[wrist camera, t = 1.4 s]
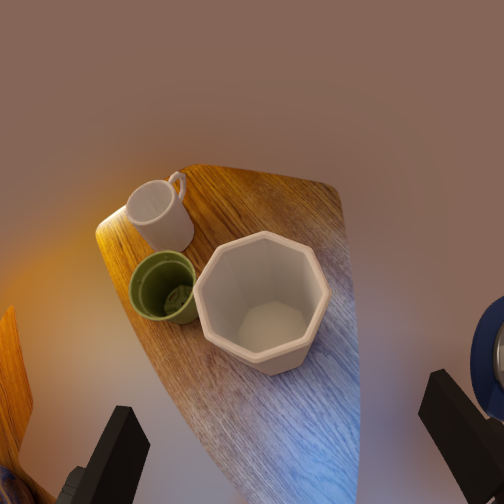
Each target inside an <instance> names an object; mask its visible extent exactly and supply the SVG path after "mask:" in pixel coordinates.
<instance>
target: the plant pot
mask: <svg viewBox="0 0 504 504" xmlns="http://www.w3.org/2000/svg"><path fill="white" fill-rule="evenodd" d="M196 282H197V279H196V272H195V269H194V267H193V265H192V263H191V262H190V260H189V259H188V258H187V257H186V256H184V255H183V254H181V253H179V252H176V251H171V250H165V251H159V252H156V253H153V254H151V255H149V256H148V257H146V258H145V259H144V260H143V261H142V262H141V263H140V264H139V265H138V266H137V268H136V269H135V270H134V272H133V274H132V277H131V280H130V284H129V298H130V302H131V304H132V306H133V308H134V309H135V311H136V312H137V313H138V314H139V315H141V316H142V317H144V318H146V319H149V320H153V321H163V320H167V321H170V322H173V323H177V324H186V323H190V322H192V321H194V320H195V319H196V318H197V317H198V316H199V314H198V310H197V306H196V302H195V298H194V294H193V287H194V285H195V284H196ZM189 290H192V292H189ZM174 293H175V296H174V297H173V298H172V300H171V301H170V297H171V296H172V295H173V294H174ZM181 303H184V306H182V305H181Z"/></svg>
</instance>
